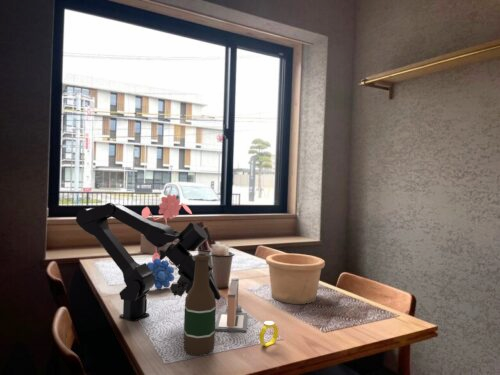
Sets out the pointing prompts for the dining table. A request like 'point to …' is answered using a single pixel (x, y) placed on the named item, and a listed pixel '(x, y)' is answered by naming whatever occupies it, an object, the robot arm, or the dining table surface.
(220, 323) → the label board
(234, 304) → the tan grey flat panel
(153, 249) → the tissue box cover
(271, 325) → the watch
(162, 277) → the grapes
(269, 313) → the dining table surface
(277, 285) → the pottery
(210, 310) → the beer bottle
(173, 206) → the pink tall branching piece
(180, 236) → the robot arm
